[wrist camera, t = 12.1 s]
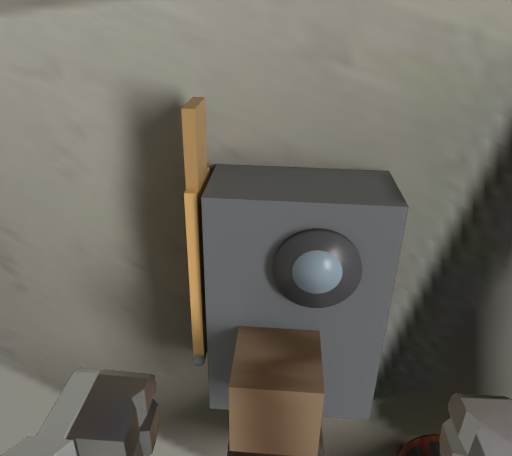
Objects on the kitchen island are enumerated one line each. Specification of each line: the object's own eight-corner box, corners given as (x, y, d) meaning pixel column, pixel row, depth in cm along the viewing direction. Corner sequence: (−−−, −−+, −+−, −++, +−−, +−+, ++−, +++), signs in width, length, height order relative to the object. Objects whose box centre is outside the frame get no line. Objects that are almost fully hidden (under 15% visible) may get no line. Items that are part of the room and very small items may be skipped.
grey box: (358, 362, 36) (370, 427, 31) (220, 353, 37) (208, 415, 31) (388, 171, 29) (411, 211, 23) (216, 164, 29) (199, 202, 24)
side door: (215, 320, 35) (204, 366, 30) (205, 320, 35) (192, 365, 31) (208, 93, 27) (192, 112, 23) (195, 93, 27) (177, 111, 23)
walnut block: (319, 330, 28) (324, 393, 24) (313, 390, 30) (317, 457, 26) (238, 325, 28) (228, 387, 24) (238, 384, 31) (229, 450, 26)
